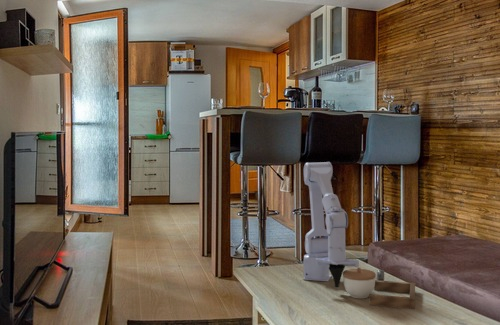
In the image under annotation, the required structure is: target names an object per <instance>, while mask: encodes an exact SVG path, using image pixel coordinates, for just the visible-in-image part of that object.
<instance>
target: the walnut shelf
mask: <svg viewBox="0 0 500 325" xmlns="http://www.w3.org/2000/svg"><path fill="white" fill-rule="evenodd" d="M373 291H385V292H386V291H387V292H397V293H408V294H409V296H399V295H387V294H386V295H385V294H384V295H383V294H375V293H373V294H372V293H371V294H370V295H369V306H376V305H379V306H378V307H380V306H381V307H392V308H400V309H401V308H402V309H414V310H415V308H416V306H415V304H416V283H415V282H406V281H393V280H392V281H390V280H384V281H379V280H377V279H375V287H374V290H373Z"/></svg>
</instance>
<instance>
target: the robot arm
mask: <svg viewBox="0 0 500 325" xmlns="http://www.w3.org/2000/svg"><path fill="white" fill-rule="evenodd" d="M333 170H334V169H333V165H332V162H330V161H326V162H325V161H324V162H321V161H320V162H305V163H304V166H303V181H304V185H306V186H308V190H309V201H310V202H309V204H310V217H311V218H310V219H311V229H310V230H309V231H308V232H307V233H306V234H305V236H304V238H305V239H304V249H305V250H304V251H305V253H306V254H304V255H303V263H302V264H303V266H302V268H303V278H302V279H303V280H304V281H305V280H306V281H318V282H329V281H330V279H331V277H332V279H333V282H334V287H335V288H339V287H340V284H341V283H340V282H341V278H342V276H343V272H344V271H345V268H346V267H355V268H360V260H359V259H349V258H346V257H347V256H346V229H347V228H348V227H349V216H348V213H347V212H346V211H345V209H344V208H342V205H341V203H340V200H339V197H338V195H337V194H334V189H333V187H332V186H333V185H332V181H331V180H332V177H333V172H334V171H333ZM324 212H325V213H324ZM324 214H325V215H324ZM325 226H326V227H325Z"/></svg>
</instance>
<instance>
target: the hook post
mask: <svg viewBox="0 0 500 325" xmlns="http://www.w3.org/2000/svg"><path fill="white" fill-rule="evenodd" d="M376 271H377V272H376V276H377V278H376V280H379V281H385V270H384V269H377V270H376Z"/></svg>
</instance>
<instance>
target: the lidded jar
mask: <svg viewBox="0 0 500 325" xmlns="http://www.w3.org/2000/svg"><path fill="white" fill-rule="evenodd" d="M376 276H377V273H376V272H374V271H373V270H370V269H363V268H361V267H357V268H350V269H346V270H345V269H344V270H343V273H342V277H343V278H342V282H343V287H344V289H345V291H346V292H347V294H349V297H351V298H354V299H366V298H370V294H372V293H373V291H375V290H374V287H375V280H376Z"/></svg>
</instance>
